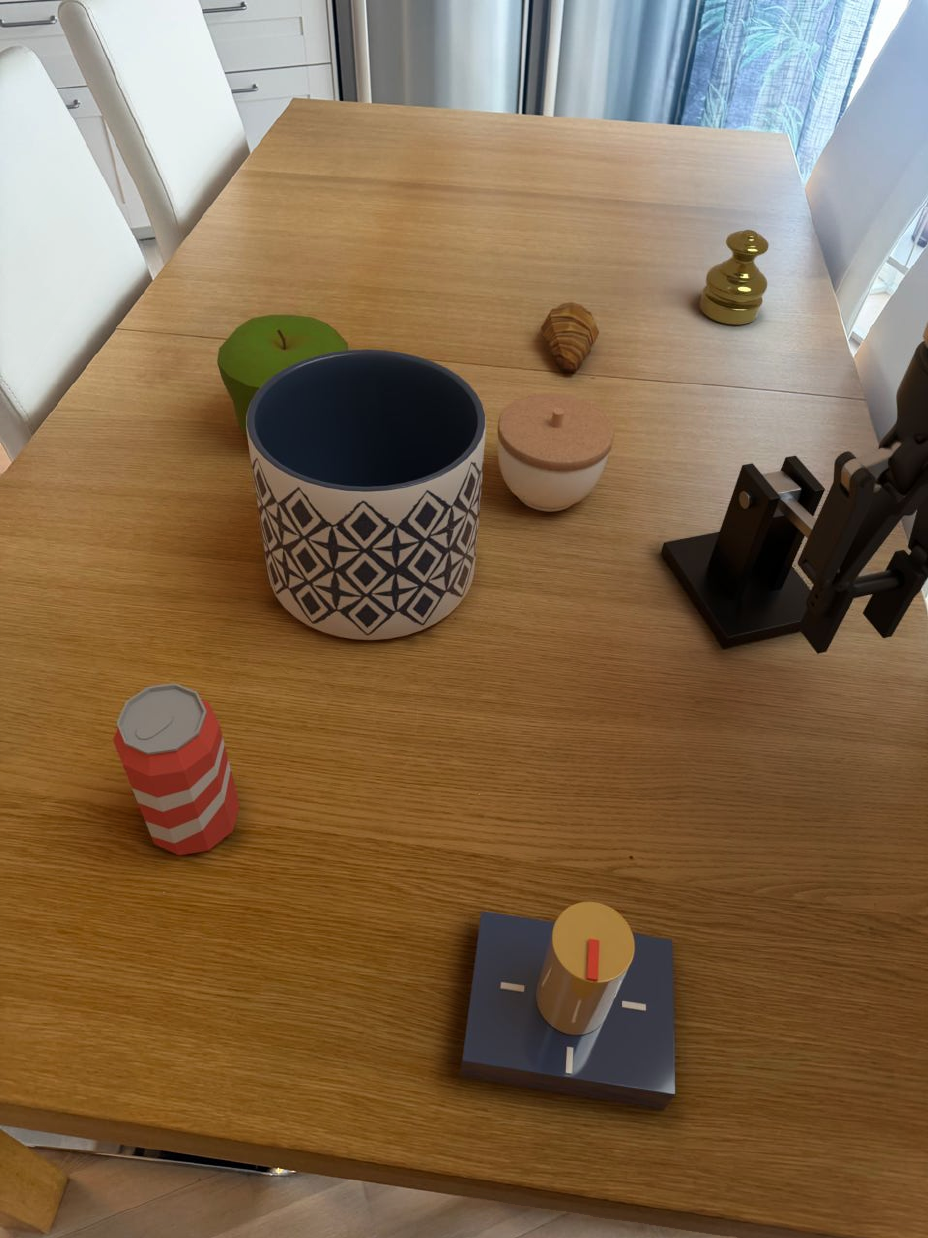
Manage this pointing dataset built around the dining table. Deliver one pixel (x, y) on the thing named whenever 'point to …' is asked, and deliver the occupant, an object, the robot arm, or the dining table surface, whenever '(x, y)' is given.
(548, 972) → the valve knob
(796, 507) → the faucet lever
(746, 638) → the black angular piece
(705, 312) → the gold metal turned piece
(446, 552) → the planter
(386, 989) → the dining table surface
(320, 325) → the apple
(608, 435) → the trinket box
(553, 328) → the croissant
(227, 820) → the beverage can
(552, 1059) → the valve plate
